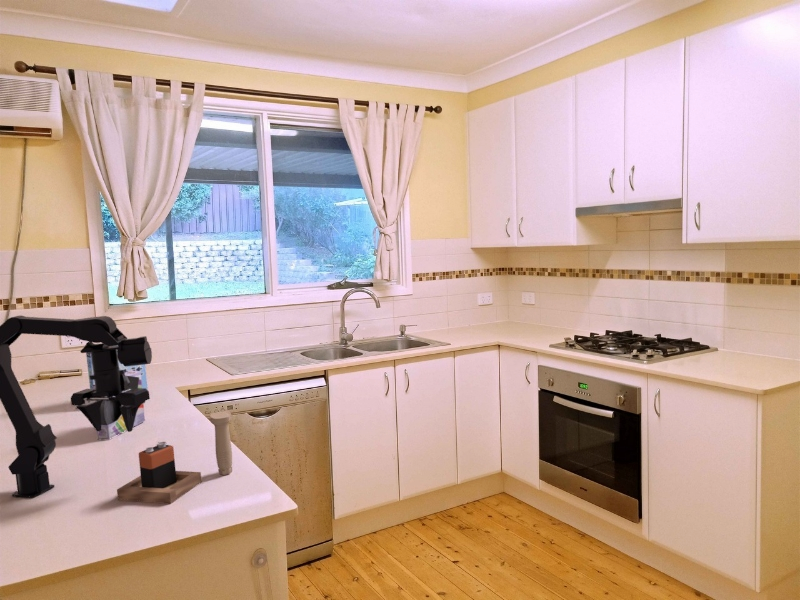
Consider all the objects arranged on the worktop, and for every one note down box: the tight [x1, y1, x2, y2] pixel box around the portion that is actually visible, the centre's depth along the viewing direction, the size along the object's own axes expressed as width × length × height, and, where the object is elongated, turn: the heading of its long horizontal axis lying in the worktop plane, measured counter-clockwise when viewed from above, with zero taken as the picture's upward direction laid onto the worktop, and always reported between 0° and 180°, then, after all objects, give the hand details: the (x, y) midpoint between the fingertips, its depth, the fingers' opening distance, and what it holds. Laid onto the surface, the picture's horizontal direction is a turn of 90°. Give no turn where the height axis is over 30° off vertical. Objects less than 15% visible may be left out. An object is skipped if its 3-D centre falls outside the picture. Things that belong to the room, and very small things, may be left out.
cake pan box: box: [92, 371, 146, 440], centre depth 191 cm, size 19×5×18 cm, turn 168°
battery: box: [138, 441, 177, 488], centre depth 141 cm, size 4×7×10 cm, turn 149°
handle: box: [209, 410, 233, 476], centre depth 150 cm, size 5×6×15 cm
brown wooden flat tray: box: [116, 470, 202, 504], centre depth 142 cm, size 14×12×2 cm
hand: (114, 431), depth 147 cm, fingers open, 9 cm apart
